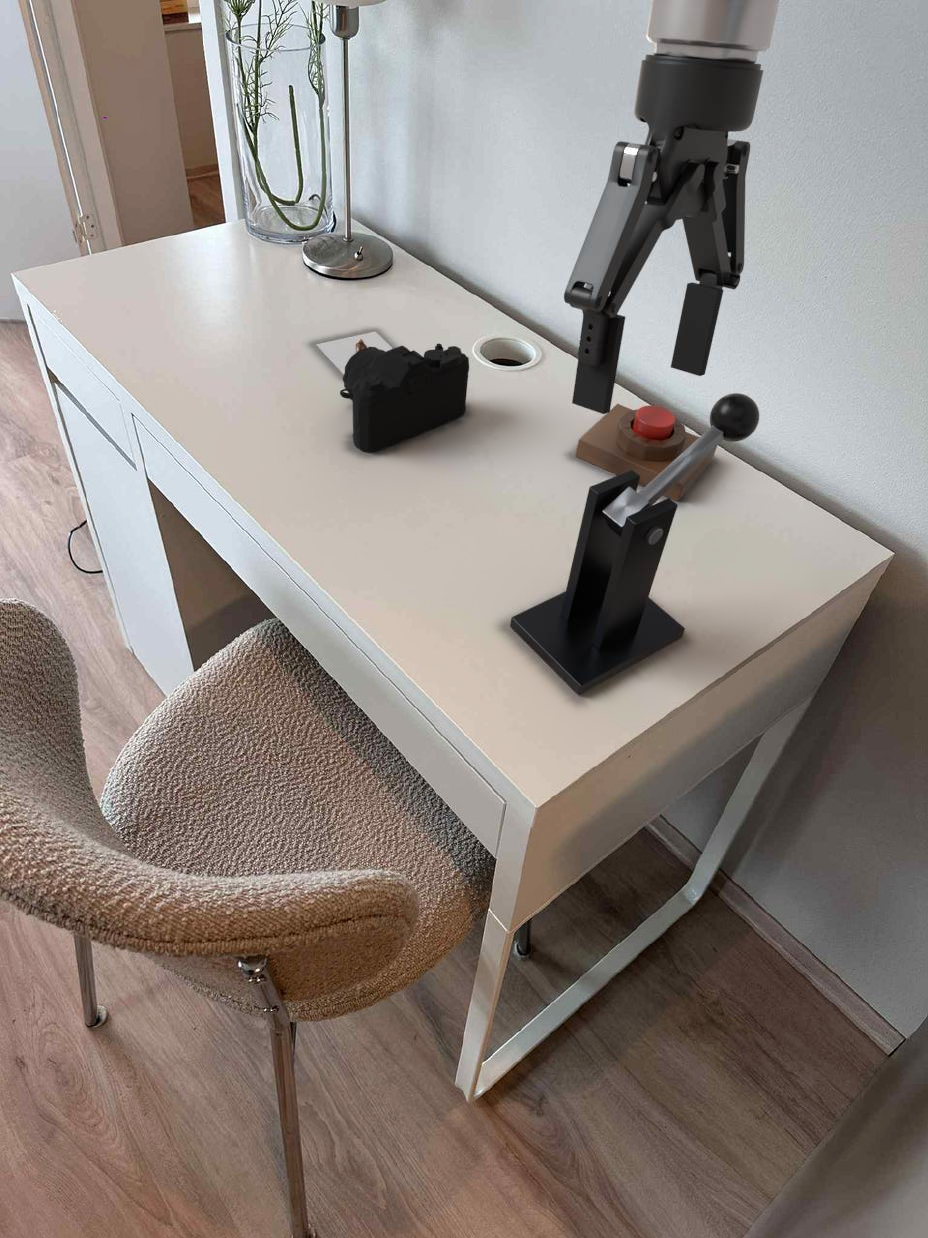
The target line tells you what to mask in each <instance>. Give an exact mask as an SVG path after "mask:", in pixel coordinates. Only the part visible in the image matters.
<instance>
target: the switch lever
mask: <svg viewBox="0 0 928 1238" xmlns="http://www.w3.org/2000/svg"><path fill="white" fill-rule="evenodd" d="M759 422H760V409H759V407H758V404H757V403H756V402H755V400H754V399H753V398H751V397H750V396H749V395H746V394H745V393H744V394H743V393H738V392H734V393H733V392H732V393H729V394H726V395H724V396H722V397H720V398H719V399H718V400H717V401H716V402H715V403H714V404H713V406H712V408H711V410H710V413H709V424H710V427H709V428H708V429H707V430H706V431H705V432H703V433H702V434H701V435H700V436H698V437H699V438H698V439H697V440H696V441H695V442H694V443H693V444H692V445H691V446H689V447H688V448H687V449H686V450H685V451H684V452H683V453H682V454H681V455H680V456H679V457H677V458H676V459H675V460H674V461H673V462H672V463H671V464H670V465H669V466H668V467H667V468H665V469H664V470H663V471H662V472H661V473H660V474H659V475H658V476H657V477H656V478H655V479H653V480H652V481H651V482H650V483H649V484H648V485H647V486H646V487H643V489H641V490H640V491H639V492H638V491H635V490H633V489H632V488H631V487H628V488H627V489H626V490H625V491H624V492H622V493H621V494H620V495H619V496H618V497H617V498H616V499H615V500H614V501H613V502H612V503H610V504H609V505H608V506H607V507H606V508H605V509H604V510H603V511H602V512H603V514H604V517H605V520H606V522H607V525H608V527H609V528H610V529H611V530H613V531H614V532H615V533H616V534H617V535H619V536H620V537H621V535H622V531H623V527H624V524H625V520H626V517H627V516H630V515H632V514H634V513H636V512H639V511H641V510H643V509H645V508H647V507H650V506H652V505H654V504H656V503H657V501H659V500H660V499H661V498H662V497H663V496H664V494H665V493H666V492H667V491H668V490H669V489H671V488H672V487H673V486H674V485H675V484H676V483H677V482H678V481H679V480H680V479H681V478H683V477H684V476H685V475H686V474H687V473H688V472H689V471H690V470H691V469H692V468H693V467H695V466H696V465H697V464H698V463H699V462H700V461H701V460H702V459H703V458H704V457H705V456H707V455H708V454H709V453H710V452H711V451H712V450H713V449H714V448H715V447H716V446H717V447H718V446H719V445H720V444H721V443H722V442H723V441H726V442H730V443H735V442H736V443H737V442H741V441H744V440H746V439H748V438H749V437H750V436H752V435H753V433H754V432H755V431H756V430H757V427H758V425H759Z"/></svg>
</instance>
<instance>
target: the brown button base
mask: <svg viewBox="0 0 928 1238" xmlns="http://www.w3.org/2000/svg"><path fill="white" fill-rule="evenodd" d="M638 409H639V408H637V409H632V408H630V407H627V406H624V405H622V404H620V403H616V404H615V405H614V406H613V407H611V408H610V412H608V413H606V414H604V415H603V416H602V417H601V418H600V419H599V420H598V421H597V422H596V423H595V424H594V425H593V426H591V428H589V429H588V430H587V431H586V432H584V434H583V435H582V436H581V437H579V438H578V442H577V446H576V447H577V448H576V451H575V457H576V458H578V459H580V460H582V461H585V462H587V463H590V464H592V465H593V466H597V467H598V468H601V469H603V470H606V471H608V472H610V473H612V474H614V475H616V476H617V475H620V474H622V473H625V472H627V471H629V470H633V471H634V472H636V473H637V474H638V475H640V480H639V483H638V486H642V487H643V488H645V487H646V486H647V485H648V484H649V483H650V482H651V481H652V480H653V479H655V478H656V477H657V476H658V475H659V474H660V473H661V472H662V471H663V470H664V469H665V468H667V467H668V466H669V465H670V464H671V463H672V462H673V461H674V460H675V459H676V458H677V457H679V456H680V455H681V454H682V453H683V452H684V451H685V450H686V449H687V448H688V447H689V446H691V445H692V444H693V443H694V442H695V441H696V440H697V439H698V438H699V437H700V436H698V435H695V434H692V433H690V432H688V431H686V427H685V425H684V424H683V423H682V422H681V421H680V420H679V419H678V418H676V417H675V422H674V426H673V429H672V432H671V435H670V437H669V438H668V439H665V440H661V441H659V440H649V439H646V438H644V437H642V436H639V435H638V434H637V433H636V432H635V431H634V430H633V424H634V420H635V416H636V412H637V410H638ZM717 448H718V445H717V446H716V447H715V448H714V449H713V450H712V451H711V452H710V453H709V454H708V455H707V456H705V457H704V458H703V459H702V460H701V461H700V462H699V463H698V464H697V465H696V466H695V467H693V468H692V469H691V470H690V471H689V472H688V473H687V474H686V475H685V476H684V477H683V478H681V479H680V480H679V481H678V482H677V483H676V484H675V485H674V486H673V487H672V488H671V489H669V490H668V491H667V492H666V493H665V494H664V495H663V496H664V497H666V498H669V499H671V500H672V501H674V502H679V501H680V499H682V497H683V496H684V495H685V494H686V492H688V490H689V489H690V488H691V487H692V485H693V484H694V483H695V482H696V480H698V478H699V477H700V476H701V475H702V474H703V472H704V471H705V470H706V469H707V468H708V467H709V465H711V463H712V462H713V460H714V456H715V454H716V450H717Z"/></svg>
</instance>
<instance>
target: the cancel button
mask: <svg viewBox="0 0 928 1238" xmlns="http://www.w3.org/2000/svg"><path fill="white" fill-rule="evenodd" d="M637 409H638V410H637V412H636V416H635V420H634V424H633V430H634V431H635V432H636V433H637V434H638V435H639V436H642V437H644V438H646V439H649V440H659V441H661V440H665V439H668V438H669V437H670V435H671V432H672V429H673V426H674V422H675V418H676V417H675V415H674V414H673V412H671V411H670V410H669V409H667V408H664V407H662V406H659V405H644V406H641V407H639V408H637Z"/></svg>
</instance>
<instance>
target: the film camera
mask: <svg viewBox="0 0 928 1238" xmlns="http://www.w3.org/2000/svg"><path fill="white" fill-rule="evenodd" d="M469 372H470V358H469V357H468V356H467V355H466V354H465V353H462V349H461V348H460V347H459V346H455V345H452V346H448V347H447V349H444V347H443V345H442V344H441V343H436V345H435V346H434V348H433V349H428V350H426V351H424V353H423V355H421V354H420V353H419V352H418V351H416V350H414V349H413V350H409V349H408V348H407V347H406V346H404V345H399V346H396V347H394V348H393V349H391V350H389V351H386V352H385V351H384V350H380V349H377V348H376V347H368V348H363V349H361V350H359V351H358V352H357V353H356V354H354V355H353V356H352V357H351V358H350V359H349V361H348V362H347V364H346V366H345V373H344V375H343V376H342V382H343V386H344V388H343V389H340V391H339V395H340V396H341V398H343V399H348V400H351V402H352V404H351V405H352V441H353V444H354V446H355V447H356V448H357V449H358V450H360V451H362V452H365V453H376V452H378V451H381V450H384V449H386V448H389V447H392V446H395V445H397V444H400V443H402V442H404V441H407V440H410V439H412V438H414V437H417V436H420V435H422V434H424V433H427V432H430V431H432V430H434V429H437V428H440V427H442V426H445V425H446V424H448V423H451V422H453V421H455V420H457V419H459V418H461V417H463V415H465V413H466V411H467V406H466V405H467V403H466V402H467V394H468V381H469Z"/></svg>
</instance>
